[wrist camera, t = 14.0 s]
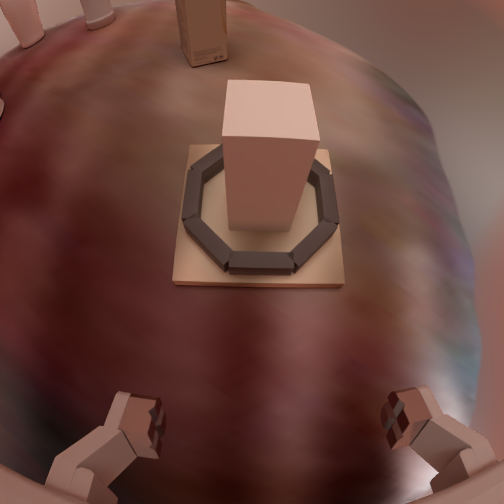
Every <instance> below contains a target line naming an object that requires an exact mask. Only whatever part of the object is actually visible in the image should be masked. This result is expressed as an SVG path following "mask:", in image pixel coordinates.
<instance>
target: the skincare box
mask: <svg viewBox="0 0 504 504" xmlns="http://www.w3.org/2000/svg"><path fill="white" fill-rule="evenodd" d="M175 4H176V11H177V19H178V26H179V34H180V41H181V47H182V50H183V52H184V54H185V56H186V58H187V59H188V61H189V63H190V64H191V66H192V67H194V66H198V65H203V64H208V63H212V62H217V61H221V60H226V59H228V55H227V27H226V0H175Z"/></svg>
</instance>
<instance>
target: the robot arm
mask: <svg viewBox="0 0 504 504" xmlns="http://www.w3.org/2000/svg"><path fill="white" fill-rule="evenodd" d="M3 108H4V101H3V100H2V99H1V98H0V117H1V114H2V112H3ZM388 400H389V401H388V402H387V403H386V404H385V405H384V406H383V408H382V410H381V423H382V426H383V428H384V429H386V430H387V431H388V433H387V436H386V437H387V440H388V443H389V446H390V448H391V450H392V449H397V448H402V447H406V446H410V447H411V448H412V449H413V450H414V451H415V452H416V453H417V454H419V455H420V456H421V457H422V458H423V459H424V460H425V461H426V462H428V463H429V464H430V465H431V466H432V467H433V468H434V469H435V470H437V471H438V472H439V473H438V474H437V475H436V476H435V477H434V478H433V479H432V480H431V482H430V485H431V488H432V491H433V493H434V494H431V495H429V496H426V497H423V498H421V499H418V500H415V501H412V502H409V503H406V504H504V459H503V460H501V461H500V462H498V460H497V458H496V456H495V454H494V452H493V450H492V448H491V446H490V444H489V443H488V440H487V439H486V438H484V437H483V436H481V435H479V434H478V433H476V432H474V431H473V430H471V429H470V428H468V427H466V426H465V425H463V424H462V423H460V422H458V421H457V420H455V419H454V418H452V417H450V416H449V415H447V414H445V415H444V414H443V412H442V410H441V409H440V407H439V405H438V403H437V401H436V399H435V398H434V396H433V394H432V392H431V390H430V388H429V387H428V386H427V385H423V386H418V387H412V388H407V389H402V390H397V391H392V392H391V393H390V394H389V396H388ZM161 405H162V402H161V399H160V398H158V397H151V396H145V395H138V394H132V393H126V392H120V391H118V393H117V394H116V395H115V397H114V400H113V403H112V405H111V408H110V410H109V413H108V416H107V418H106V421H105V424H104V426H99V427H97V428H96V429H95V430H93V431H92V432H90V433H89V434H88V435H86V436H85V437H83V438H82V439H81V440H79V441H78V442H76V443H75V444H73V445H72V446H71V447H69V448H68V449H66V450H65V451H63V452H62V453H60V454H59V455H58V456H56V457H55V459H54V462H53V464H52V467H51V469H50V472H49V474H48V477H47V480H46V482H45V485H41V484H39V483H37V482H35V481H33V480H31V479H29V478H27V477H25V476H23V475H21V474H19V473H17V472H15V471H13V470H11V469H9V468H7V467H6V466H4V465H2V464H0V504H117V500H118V498H117V497H116V495H115V494H114V493H113V492H112V491H111V490H110V489H109V488H108V487H107V486H108V485H109V484H110V483H111V482H112V481H113V480H114V479H115V478H116V477H117V476H118V475H119V474H120V473H121V472H122V471H123V470H124V469H125V468H126V467H127V466H128V465H129V464H130V463H131V462H132V461H133V460H134V459H135V458H136V457H137V456H140V457H147V458H154V459H159V458H160V453H161V448H162V442H161V440H160V438H161V437H162V436H163V435H164V434H165V428H166V416H165V412H164V410H162V409H161Z"/></svg>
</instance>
